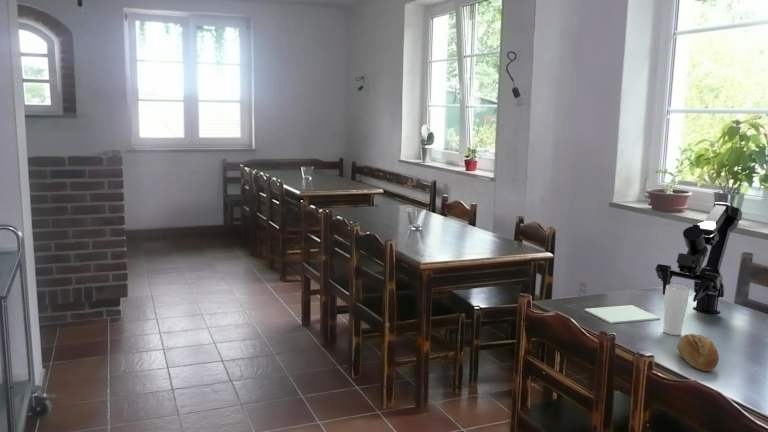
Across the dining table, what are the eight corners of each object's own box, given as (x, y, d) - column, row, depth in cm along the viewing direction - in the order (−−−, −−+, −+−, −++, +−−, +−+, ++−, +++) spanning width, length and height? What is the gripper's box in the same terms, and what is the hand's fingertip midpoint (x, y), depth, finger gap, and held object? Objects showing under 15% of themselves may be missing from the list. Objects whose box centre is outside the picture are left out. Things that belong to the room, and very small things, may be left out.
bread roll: (688, 373, 175) (692, 345, 174) (668, 352, 190) (671, 326, 188) (725, 376, 174) (729, 347, 173) (702, 354, 189) (706, 328, 188)
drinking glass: (679, 330, 209) (685, 285, 207) (686, 337, 203) (692, 291, 200) (657, 328, 210) (662, 283, 207) (664, 336, 203) (669, 289, 201)
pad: (631, 306, 232) (631, 305, 232) (660, 319, 219) (660, 317, 219) (584, 310, 226) (584, 308, 226) (610, 323, 213) (610, 322, 213)
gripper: (660, 238, 213) (643, 277, 207) (722, 249, 201) (706, 290, 194) (666, 259, 220) (650, 296, 214) (726, 270, 208) (711, 310, 202)
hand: (678, 297), depth 206 cm, fingers open, 9 cm apart
